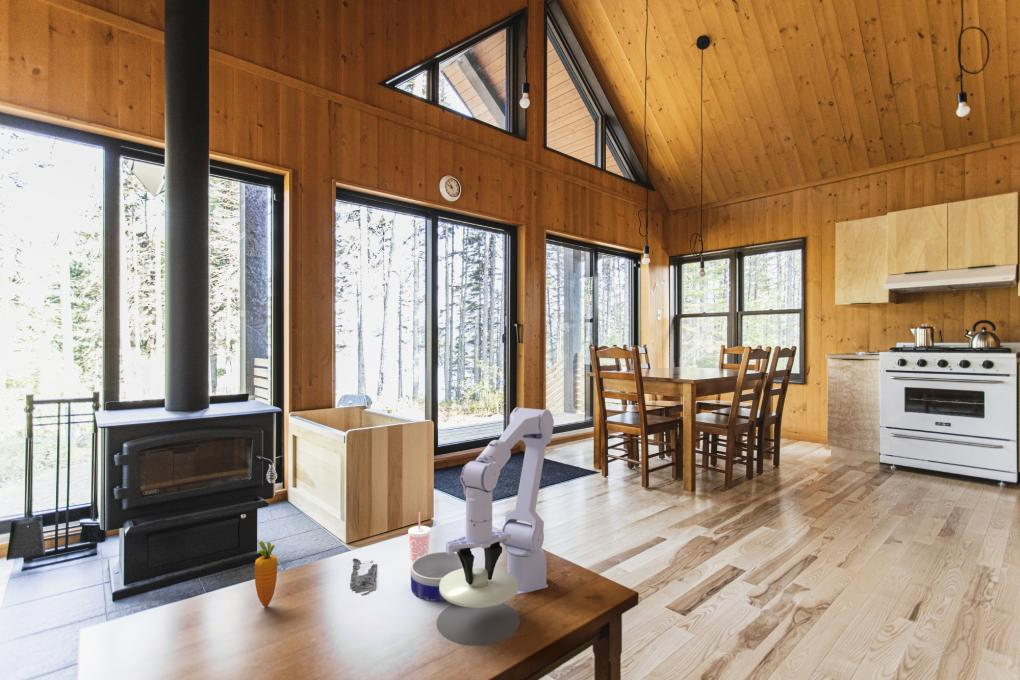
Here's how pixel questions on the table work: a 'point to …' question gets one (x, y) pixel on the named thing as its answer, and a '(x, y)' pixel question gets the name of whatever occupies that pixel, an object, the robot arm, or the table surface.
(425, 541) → the beverage cup
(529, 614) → the table surface
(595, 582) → the table surface
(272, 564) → the carrot
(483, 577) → the lid
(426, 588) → the dog bowl
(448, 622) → the mat
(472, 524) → the robot arm
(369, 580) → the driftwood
